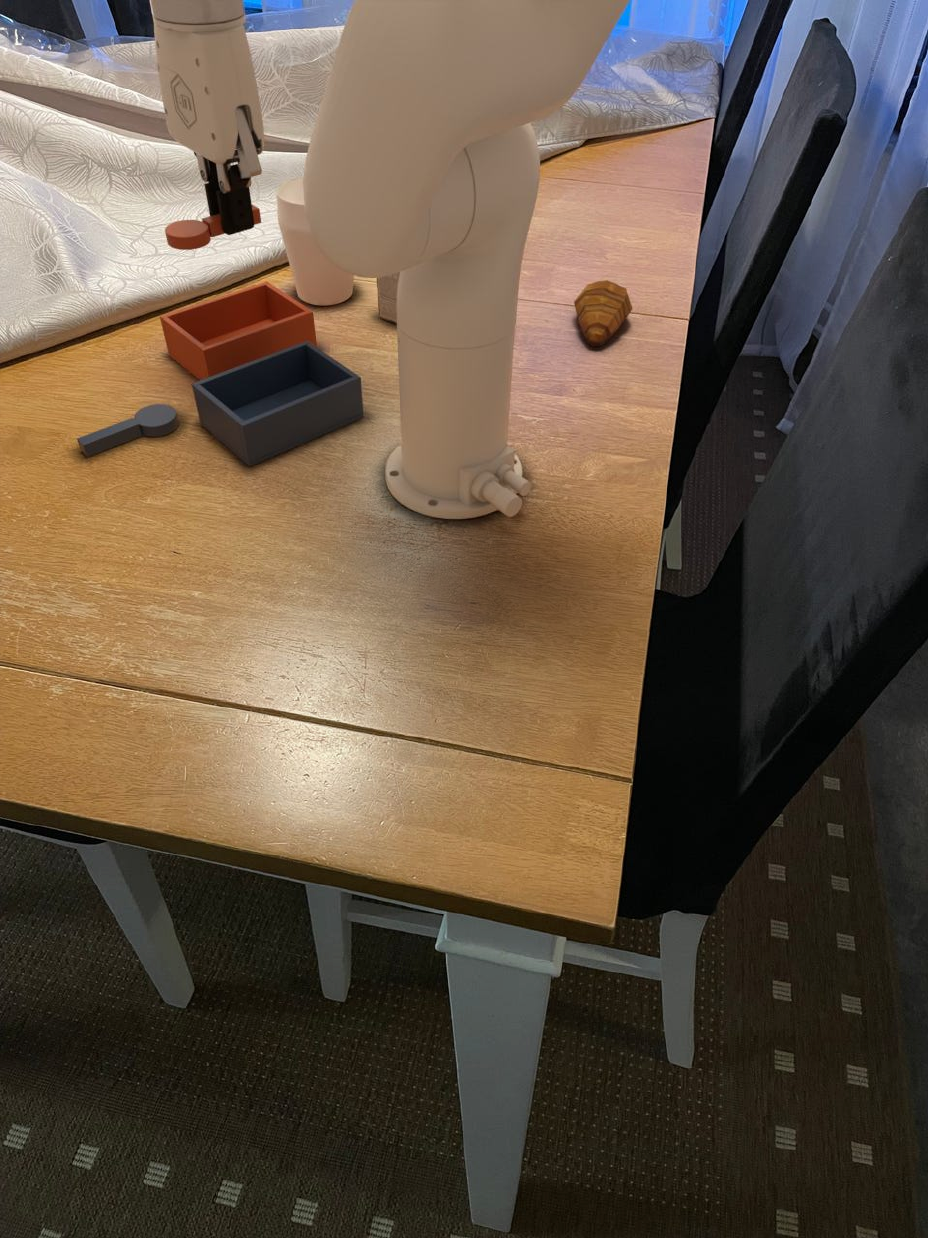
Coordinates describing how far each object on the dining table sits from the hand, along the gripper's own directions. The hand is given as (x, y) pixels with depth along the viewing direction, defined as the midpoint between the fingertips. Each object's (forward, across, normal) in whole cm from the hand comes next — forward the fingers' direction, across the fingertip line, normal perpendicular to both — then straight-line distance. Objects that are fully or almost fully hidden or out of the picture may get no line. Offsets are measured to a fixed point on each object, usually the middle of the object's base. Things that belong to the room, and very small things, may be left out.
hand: (233, 225), depth 85 cm
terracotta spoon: (0, 0, -2) cm, 2 cm away
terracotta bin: (+14, -2, 0) cm, 14 cm away
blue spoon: (+14, +5, -17) cm, 23 cm away
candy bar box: (+14, +2, +22) cm, 26 cm away
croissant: (+14, +19, +35) cm, 42 cm away
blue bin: (+14, +12, -4) cm, 19 cm away
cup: (+14, -8, +15) cm, 22 cm away
